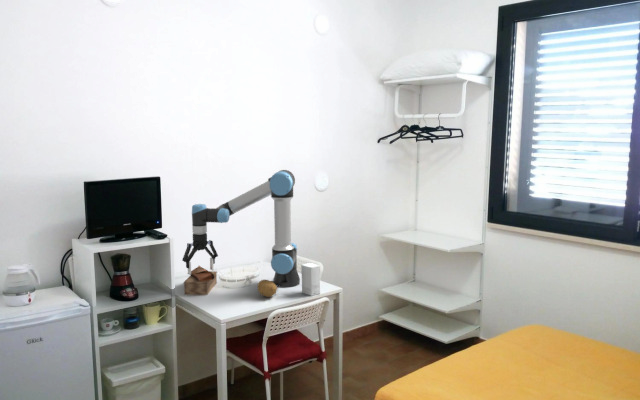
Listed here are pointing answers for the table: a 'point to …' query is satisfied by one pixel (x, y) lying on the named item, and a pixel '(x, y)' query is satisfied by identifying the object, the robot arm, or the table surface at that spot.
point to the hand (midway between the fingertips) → (200, 271)
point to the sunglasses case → (202, 274)
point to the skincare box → (310, 279)
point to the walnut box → (199, 285)
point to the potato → (267, 288)
